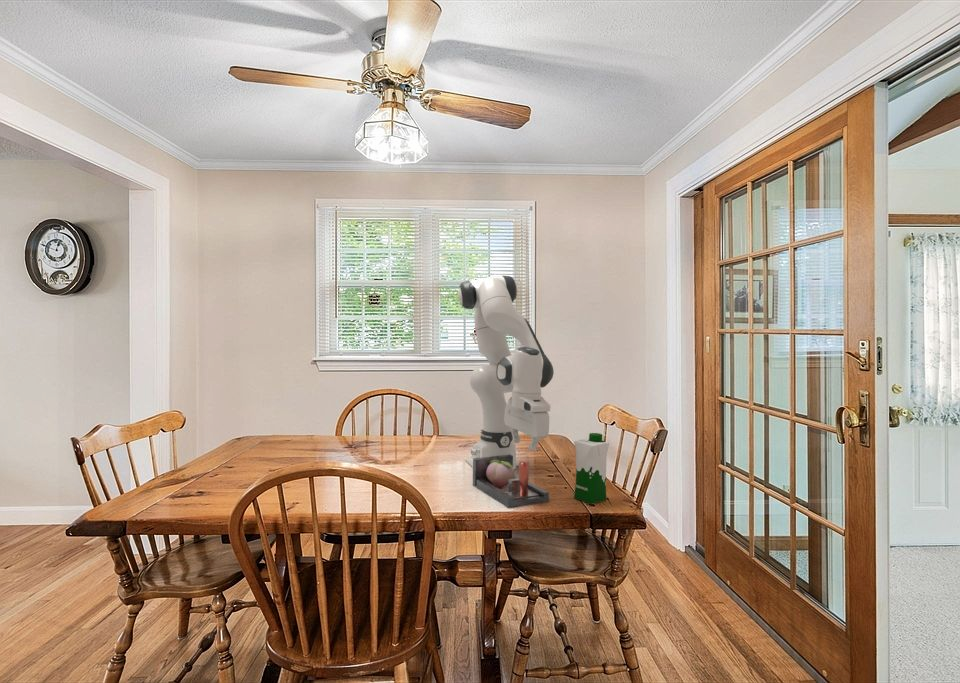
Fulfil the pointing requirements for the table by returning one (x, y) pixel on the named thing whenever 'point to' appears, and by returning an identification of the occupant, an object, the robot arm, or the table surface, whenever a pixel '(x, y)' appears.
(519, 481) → the handle
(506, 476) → the decorative fruit
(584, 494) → the milk carton
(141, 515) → the table surface
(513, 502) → the press base
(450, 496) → the table surface
